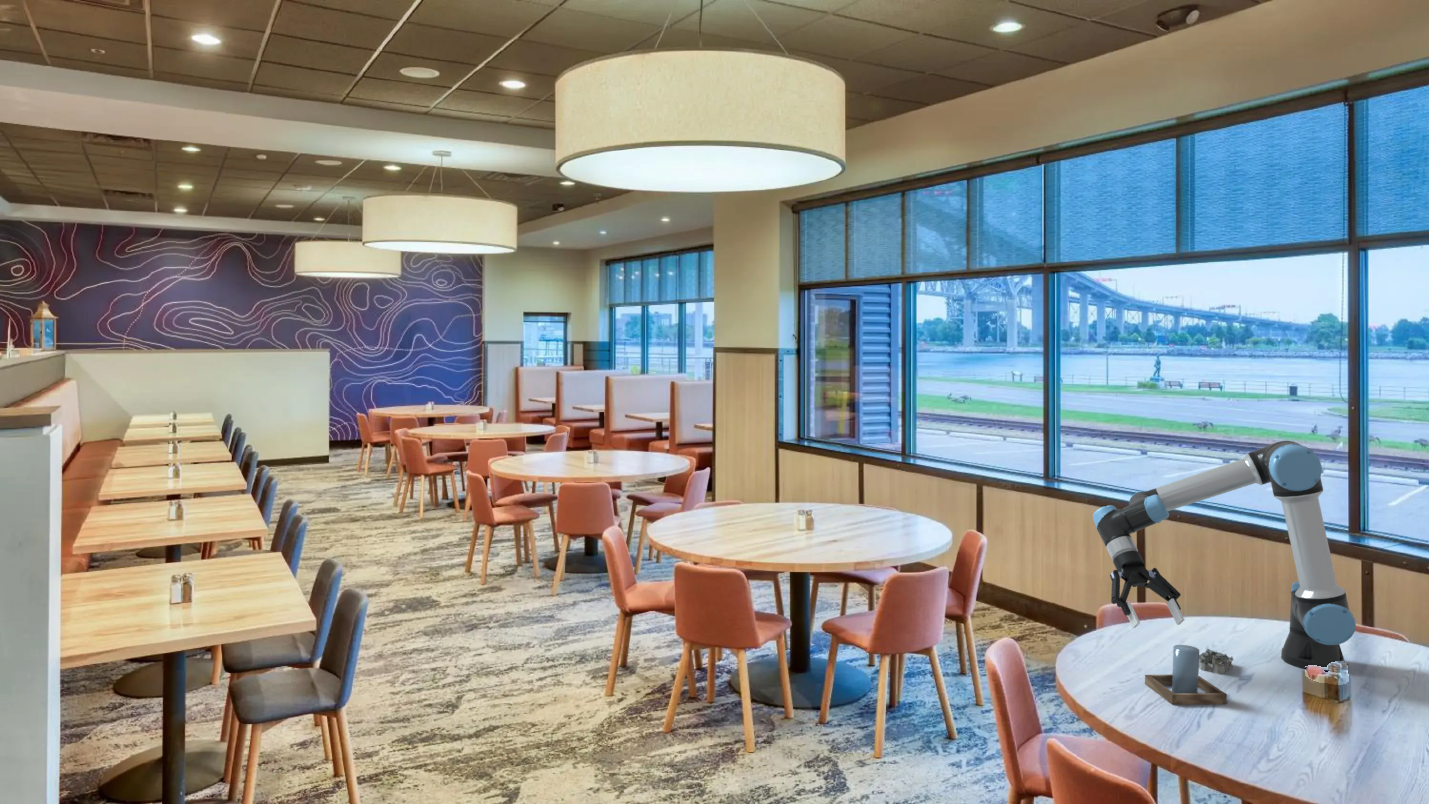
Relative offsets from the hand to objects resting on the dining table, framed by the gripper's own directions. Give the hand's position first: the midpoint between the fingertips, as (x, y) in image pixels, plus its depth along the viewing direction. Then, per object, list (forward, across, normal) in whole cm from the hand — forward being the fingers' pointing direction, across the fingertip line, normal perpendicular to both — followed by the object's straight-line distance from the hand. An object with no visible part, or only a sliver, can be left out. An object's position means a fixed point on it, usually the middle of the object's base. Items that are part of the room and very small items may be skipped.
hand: (1158, 623), depth 252 cm
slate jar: (+18, 0, -3) cm, 19 cm away
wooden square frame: (+18, 0, -3) cm, 19 cm away
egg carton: (+8, -22, -14) cm, 27 cm away
